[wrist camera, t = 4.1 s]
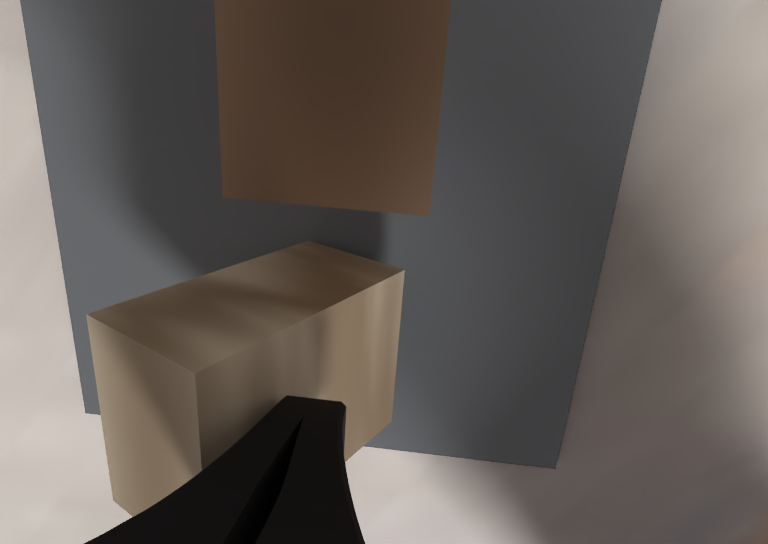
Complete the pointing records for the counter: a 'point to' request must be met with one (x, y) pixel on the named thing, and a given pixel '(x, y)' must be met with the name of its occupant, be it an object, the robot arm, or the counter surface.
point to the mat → (358, 227)
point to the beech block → (241, 360)
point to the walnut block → (331, 101)
